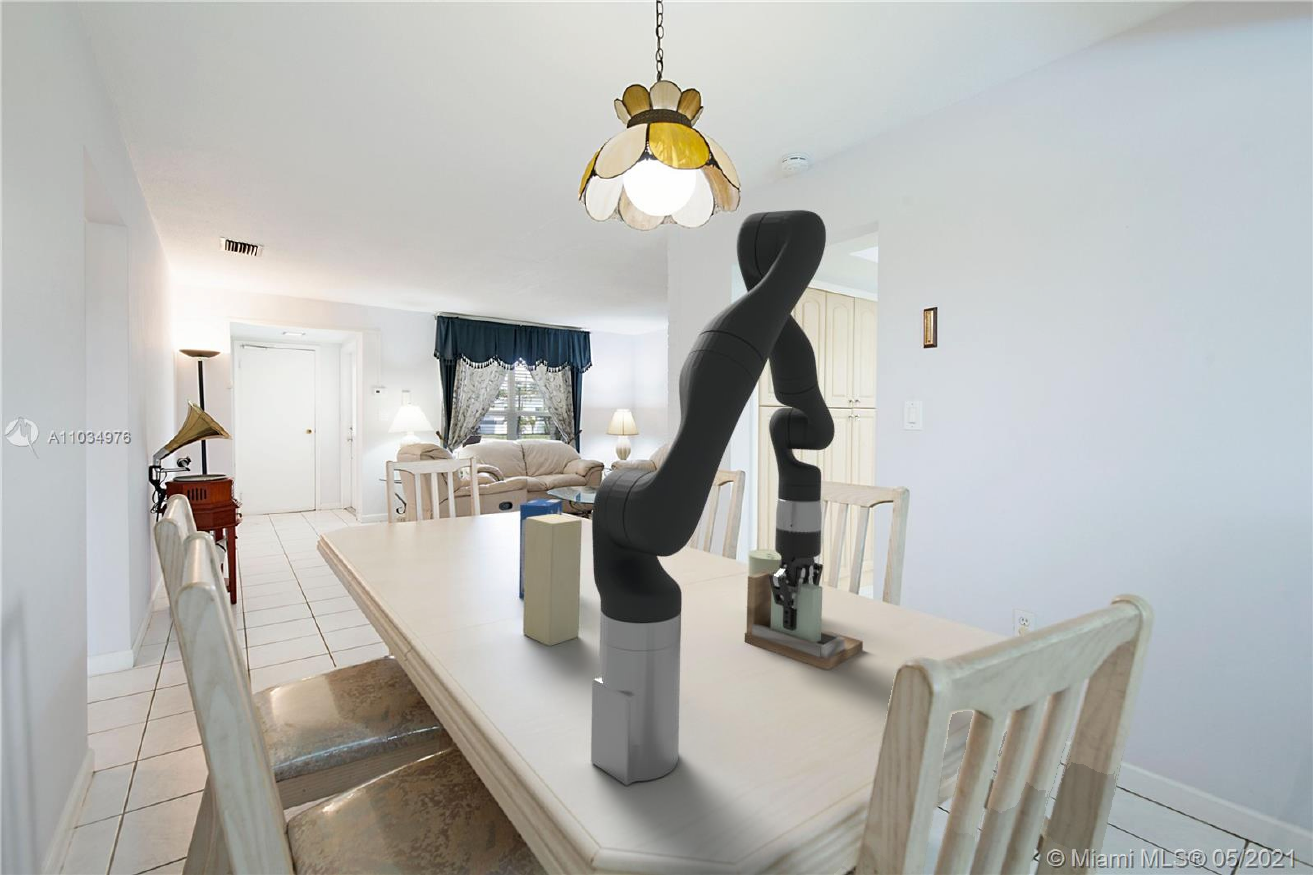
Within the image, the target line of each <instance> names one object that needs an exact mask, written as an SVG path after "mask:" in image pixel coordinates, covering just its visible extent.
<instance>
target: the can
mask: <svg viewBox="0 0 1313 875" xmlns="http://www.w3.org/2000/svg"><path fill="white" fill-rule="evenodd" d="M780 562H781V555H780V554H779V553H777V552H776V550H775V549H767V548H766V549H761V548H760V549H753V550H751V551H749V552H748V576H751V575H754V574H757V573H761V572H764V571H772V572H774V574H776V573H777V572H778V571H779V565H780ZM748 576H747V577H748Z"/></svg>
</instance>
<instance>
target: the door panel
mask: <svg viewBox="0 0 1313 875" xmlns="http://www.w3.org/2000/svg"><path fill="white" fill-rule="evenodd" d="M788 588H791V589H795V587H791V586H788ZM823 589H824V588H823V586H820V585H819V586H817V585H813V584H806V583H805V584H802V587H801V593H800V595H798V602H797V624H796V629H795V630H793V631H791V630H788V629H785V628H784V627H783V606H781V605H778V604H775V600H774V596H773V592H771V629H775V630H778V631H781V632H784V633H787V634H791V635H794V636H797V637H800V638H803V639H806V640H810V641H813V642H818V641H820V640H821V629H822V618H823ZM789 594H790V593H789ZM780 596H781V597H782V595H780ZM790 598H791V600H792V594H790Z"/></svg>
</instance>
